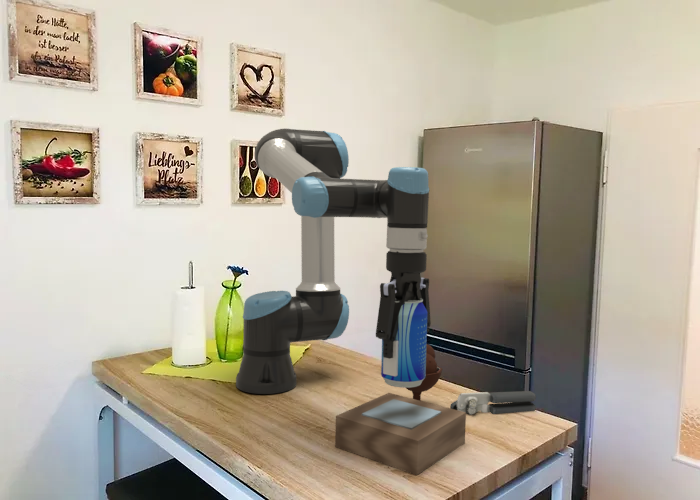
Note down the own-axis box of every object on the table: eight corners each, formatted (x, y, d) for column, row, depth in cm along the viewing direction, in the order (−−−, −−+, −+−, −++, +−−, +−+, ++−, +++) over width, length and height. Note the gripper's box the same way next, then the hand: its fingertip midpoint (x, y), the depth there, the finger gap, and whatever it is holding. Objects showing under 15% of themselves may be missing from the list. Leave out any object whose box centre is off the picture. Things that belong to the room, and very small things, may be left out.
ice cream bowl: (390, 400, 136) (392, 337, 135) (438, 401, 136) (440, 339, 135) (392, 416, 126) (394, 348, 125) (444, 418, 125) (446, 350, 124)
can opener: (457, 418, 126) (458, 396, 126) (447, 408, 132) (448, 387, 132) (539, 415, 129) (540, 393, 129) (526, 405, 135) (527, 384, 135)
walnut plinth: (335, 446, 109) (335, 414, 109) (388, 420, 124) (388, 391, 123) (417, 475, 98) (418, 439, 98) (464, 442, 113) (466, 410, 112)
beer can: (423, 390, 105) (426, 303, 104) (377, 387, 107) (379, 301, 106) (426, 377, 113) (429, 296, 112) (384, 374, 115) (386, 294, 114)
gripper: (392, 254, 98) (388, 386, 99) (451, 249, 114) (447, 361, 116) (356, 252, 102) (354, 377, 104) (418, 247, 119) (415, 355, 120)
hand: (403, 369), depth 110 cm, fingers closed on beer can, 8 cm apart
